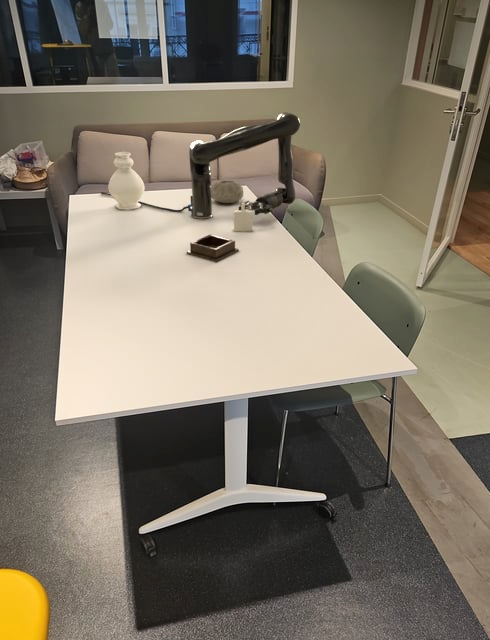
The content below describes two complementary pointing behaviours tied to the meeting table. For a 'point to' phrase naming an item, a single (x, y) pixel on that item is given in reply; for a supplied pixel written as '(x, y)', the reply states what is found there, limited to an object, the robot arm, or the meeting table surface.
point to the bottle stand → (212, 248)
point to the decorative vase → (126, 183)
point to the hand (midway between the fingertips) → (247, 210)
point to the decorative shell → (227, 191)
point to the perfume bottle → (242, 219)
